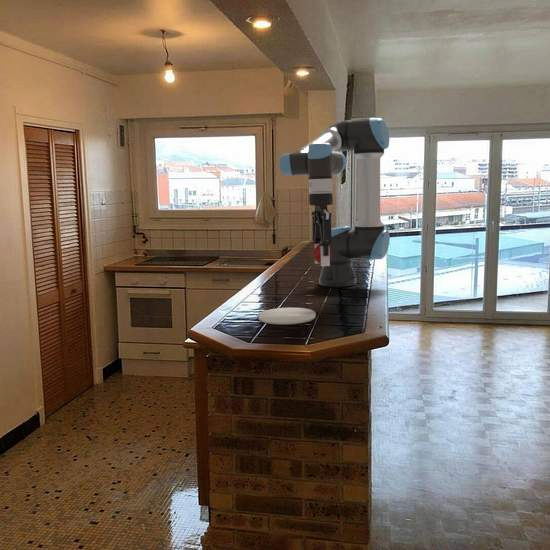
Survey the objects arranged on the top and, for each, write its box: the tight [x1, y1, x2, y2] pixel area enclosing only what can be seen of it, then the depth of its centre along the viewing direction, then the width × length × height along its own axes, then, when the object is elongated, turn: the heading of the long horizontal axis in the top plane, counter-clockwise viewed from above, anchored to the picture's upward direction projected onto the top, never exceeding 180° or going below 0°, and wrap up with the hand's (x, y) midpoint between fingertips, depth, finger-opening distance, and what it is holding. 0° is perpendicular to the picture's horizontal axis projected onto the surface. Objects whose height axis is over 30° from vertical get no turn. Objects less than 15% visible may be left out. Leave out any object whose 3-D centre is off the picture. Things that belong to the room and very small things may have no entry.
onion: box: [312, 241, 331, 266], centre depth 192 cm, size 6×6×8 cm
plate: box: [258, 307, 317, 325], centre depth 188 cm, size 18×18×1 cm
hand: (322, 264), depth 193 cm, fingers closed on onion, 6 cm apart
